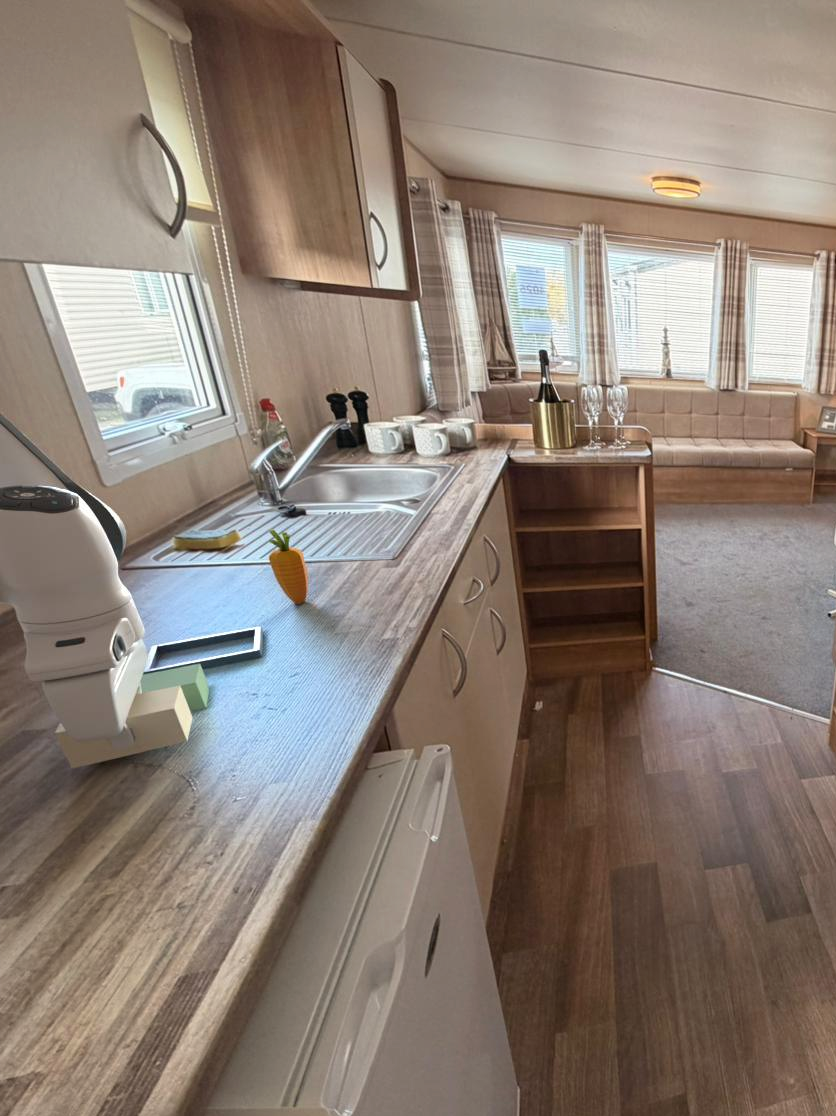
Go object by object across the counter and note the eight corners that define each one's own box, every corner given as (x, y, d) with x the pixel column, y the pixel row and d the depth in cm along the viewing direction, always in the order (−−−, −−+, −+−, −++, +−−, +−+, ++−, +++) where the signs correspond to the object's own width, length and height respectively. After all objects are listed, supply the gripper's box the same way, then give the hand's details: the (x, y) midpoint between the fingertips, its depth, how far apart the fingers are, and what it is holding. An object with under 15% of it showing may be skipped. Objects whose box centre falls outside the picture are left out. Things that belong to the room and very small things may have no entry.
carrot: (320, 606, 120) (298, 531, 113) (288, 614, 116) (264, 536, 110) (313, 598, 123) (291, 524, 116) (281, 605, 119) (257, 529, 113)
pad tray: (146, 685, 94) (140, 672, 93) (155, 657, 101) (150, 645, 100) (263, 661, 101) (259, 649, 101) (264, 637, 108) (261, 626, 108)
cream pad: (72, 768, 74) (54, 733, 72) (84, 741, 78) (67, 707, 76) (187, 741, 79) (174, 708, 77) (192, 717, 84) (180, 685, 82)
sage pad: (107, 736, 83) (91, 704, 81) (116, 713, 88) (101, 682, 85) (208, 713, 89) (195, 682, 87) (211, 692, 93) (200, 663, 91)
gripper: (69, 601, 78) (112, 696, 84) (18, 677, 63) (74, 786, 69) (140, 592, 82) (176, 683, 87) (107, 661, 67) (153, 766, 73)
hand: (131, 729), depth 78 cm, fingers closed on cream pad, 6 cm apart
